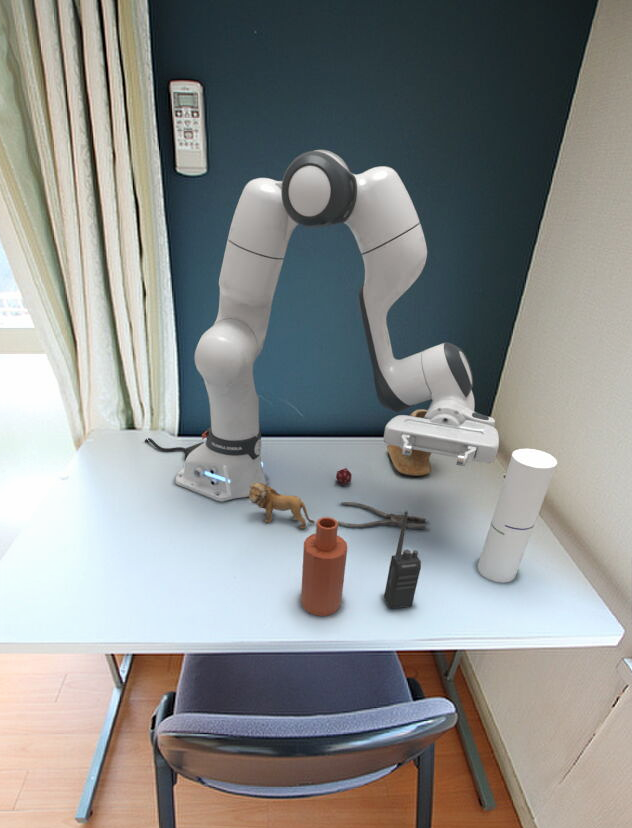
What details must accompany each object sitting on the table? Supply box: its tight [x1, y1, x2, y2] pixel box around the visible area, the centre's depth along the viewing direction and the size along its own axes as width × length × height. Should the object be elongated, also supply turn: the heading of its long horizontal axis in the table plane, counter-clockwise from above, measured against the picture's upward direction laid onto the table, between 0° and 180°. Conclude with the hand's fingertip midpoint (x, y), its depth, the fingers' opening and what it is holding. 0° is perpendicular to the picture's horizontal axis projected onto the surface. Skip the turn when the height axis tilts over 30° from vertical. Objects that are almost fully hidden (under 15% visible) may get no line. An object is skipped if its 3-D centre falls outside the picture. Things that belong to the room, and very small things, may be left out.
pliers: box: [336, 501, 427, 530], centre depth 116 cm, size 10×1×20 cm
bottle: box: [300, 516, 348, 617], centre depth 88 cm, size 7×7×18 cm
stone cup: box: [386, 408, 432, 477], centre depth 133 cm, size 15×12×15 cm
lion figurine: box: [248, 483, 315, 530], centre depth 111 cm, size 15×5×9 cm, turn 81°
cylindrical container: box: [477, 448, 558, 584], centre depth 94 cm, size 7×7×25 cm
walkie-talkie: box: [383, 509, 422, 610], centre depth 88 cm, size 5×3×20 cm
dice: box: [335, 467, 352, 486], centre depth 127 cm, size 4×4×4 cm
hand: (433, 456), depth 89 cm, fingers open, 8 cm apart
